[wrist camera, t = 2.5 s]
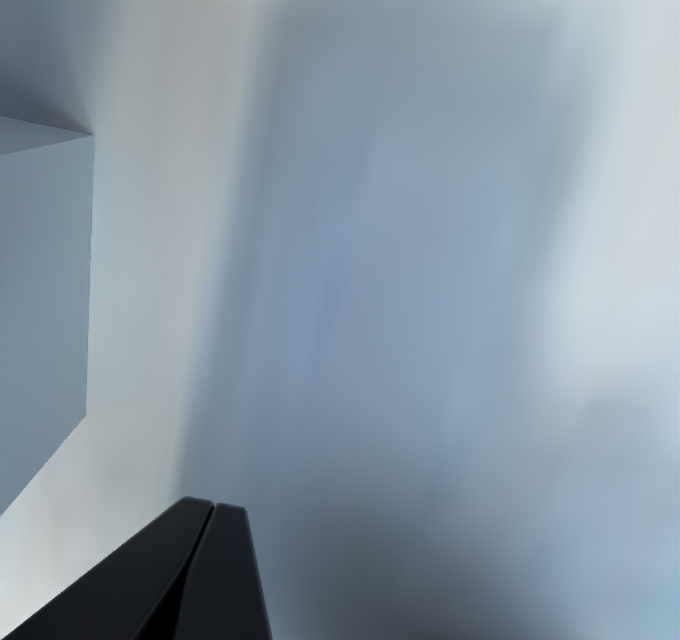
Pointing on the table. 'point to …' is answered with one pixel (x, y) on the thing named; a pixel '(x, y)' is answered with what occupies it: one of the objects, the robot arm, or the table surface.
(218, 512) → the robot arm
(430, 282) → the table surface
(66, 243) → the block
